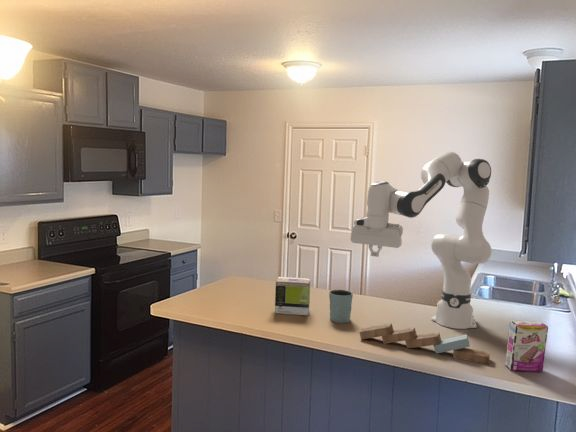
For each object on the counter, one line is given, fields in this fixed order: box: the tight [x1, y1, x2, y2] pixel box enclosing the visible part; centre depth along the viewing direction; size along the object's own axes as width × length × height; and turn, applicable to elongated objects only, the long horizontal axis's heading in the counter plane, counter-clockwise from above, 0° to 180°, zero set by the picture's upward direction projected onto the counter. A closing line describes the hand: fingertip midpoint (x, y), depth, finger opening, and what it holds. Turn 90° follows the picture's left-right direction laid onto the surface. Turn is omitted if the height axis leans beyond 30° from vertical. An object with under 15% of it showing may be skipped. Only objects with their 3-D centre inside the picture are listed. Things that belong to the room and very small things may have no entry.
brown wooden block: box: [452, 347, 491, 365], centre depth 175 cm, size 5×3×12 cm
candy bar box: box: [504, 320, 549, 373], centre depth 167 cm, size 11×5×16 cm, turn 92°
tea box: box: [274, 276, 311, 316], centre depth 219 cm, size 15×10×15 cm
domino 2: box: [381, 326, 418, 345], centre depth 186 cm, size 5×3×12 cm
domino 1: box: [358, 322, 394, 340], centre depth 189 cm, size 5×3×12 cm
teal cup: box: [328, 289, 354, 324], centre depth 211 cm, size 10×10×12 cm
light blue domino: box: [433, 334, 470, 354], centre depth 178 cm, size 5×3×12 cm
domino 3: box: [404, 331, 442, 349], centre depth 182 cm, size 5×3×12 cm
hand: (374, 256), depth 197 cm, fingers closed
